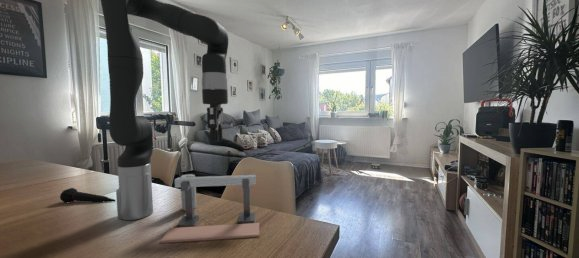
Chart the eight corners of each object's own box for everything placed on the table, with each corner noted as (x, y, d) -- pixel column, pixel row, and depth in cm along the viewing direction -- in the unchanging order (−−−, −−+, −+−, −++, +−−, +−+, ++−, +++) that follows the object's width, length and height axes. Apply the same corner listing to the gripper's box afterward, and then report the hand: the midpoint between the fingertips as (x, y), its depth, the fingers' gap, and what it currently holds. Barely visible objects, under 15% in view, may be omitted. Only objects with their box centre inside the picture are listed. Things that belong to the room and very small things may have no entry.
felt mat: (160, 243, 64) (160, 240, 64) (170, 230, 71) (170, 228, 71) (259, 236, 67) (259, 234, 67) (259, 224, 74) (259, 222, 74)
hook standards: (176, 228, 72) (174, 182, 71) (183, 219, 78) (181, 176, 77) (254, 223, 75) (253, 179, 74) (254, 215, 81) (254, 174, 80)
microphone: (117, 207, 96) (66, 202, 95) (121, 192, 97) (70, 187, 97) (108, 209, 90) (53, 203, 90) (112, 193, 92) (58, 187, 91)
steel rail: (174, 187, 73) (174, 179, 72) (177, 185, 75) (177, 177, 75) (255, 184, 75) (255, 176, 75) (255, 182, 78) (255, 174, 78)
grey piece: (191, 211, 84) (190, 177, 83) (178, 210, 85) (177, 177, 84) (199, 206, 89) (198, 174, 88) (187, 205, 89) (186, 173, 89)
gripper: (207, 90, 81) (208, 138, 82) (196, 86, 67) (198, 144, 68) (229, 90, 82) (231, 137, 83) (224, 86, 68) (226, 143, 69)
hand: (216, 140), depth 76 cm, fingers open, 8 cm apart
